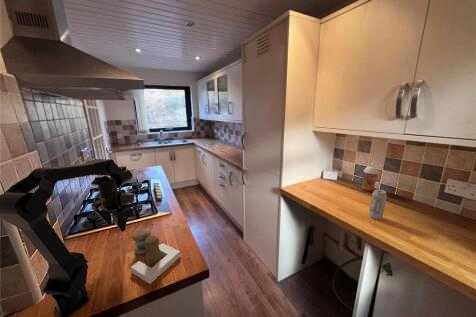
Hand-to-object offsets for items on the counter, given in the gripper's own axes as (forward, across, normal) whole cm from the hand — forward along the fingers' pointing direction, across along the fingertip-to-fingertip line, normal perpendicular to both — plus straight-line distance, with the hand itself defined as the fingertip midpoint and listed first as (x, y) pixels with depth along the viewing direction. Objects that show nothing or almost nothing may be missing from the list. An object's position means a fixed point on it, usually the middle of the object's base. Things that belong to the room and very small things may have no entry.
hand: (116, 227), depth 76 cm
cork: (+12, -16, -3) cm, 21 cm away
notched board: (+12, -18, -3) cm, 22 cm away
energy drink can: (+12, -94, -79) cm, 123 cm away
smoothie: (+12, -92, -116) cm, 149 cm away
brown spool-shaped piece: (+12, -6, -6) cm, 15 cm away
